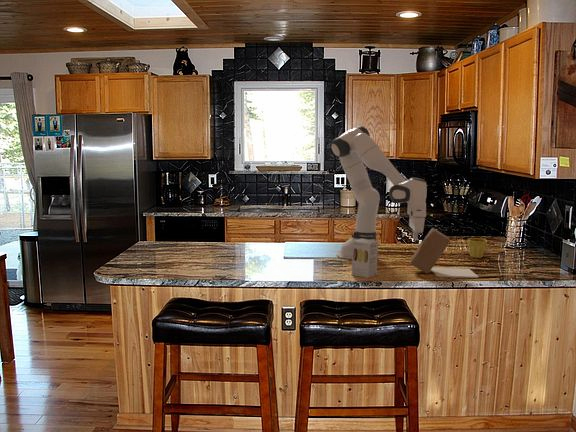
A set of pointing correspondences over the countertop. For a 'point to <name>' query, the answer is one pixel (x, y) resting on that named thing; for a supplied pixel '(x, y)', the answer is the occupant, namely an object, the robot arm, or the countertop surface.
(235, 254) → the countertop surface
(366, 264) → the supplement box
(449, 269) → the mat
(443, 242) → the wooden block
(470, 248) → the plant pot
